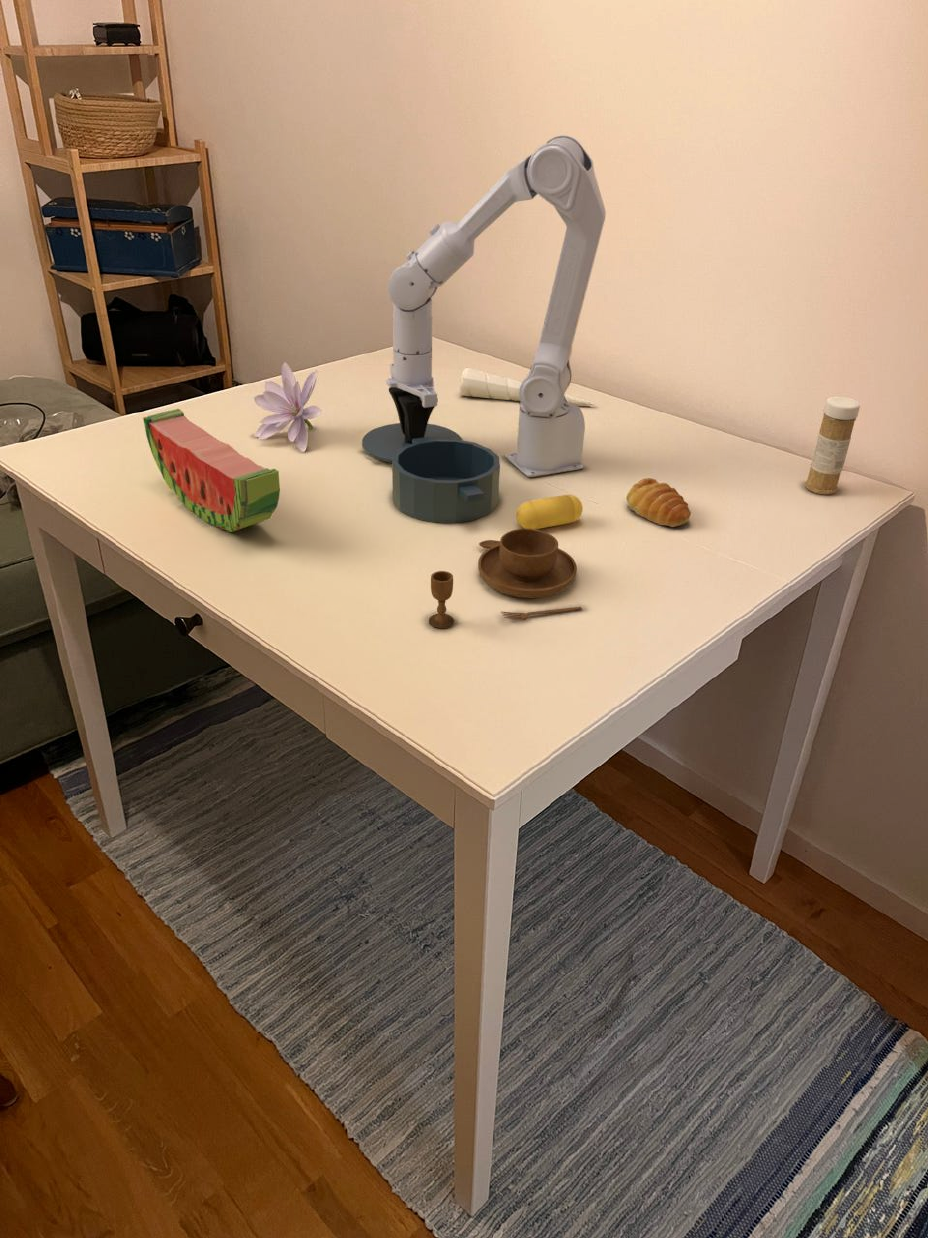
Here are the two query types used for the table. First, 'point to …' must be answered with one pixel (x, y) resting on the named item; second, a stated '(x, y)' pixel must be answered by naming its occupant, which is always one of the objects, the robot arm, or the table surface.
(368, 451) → the pot lid
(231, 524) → the fruit slice
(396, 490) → the pot
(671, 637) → the table surface
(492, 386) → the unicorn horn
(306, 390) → the water lily
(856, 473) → the table surface
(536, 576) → the place setting
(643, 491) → the pastry
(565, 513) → the yellow rounded capsule
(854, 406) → the sprinkles bottle
